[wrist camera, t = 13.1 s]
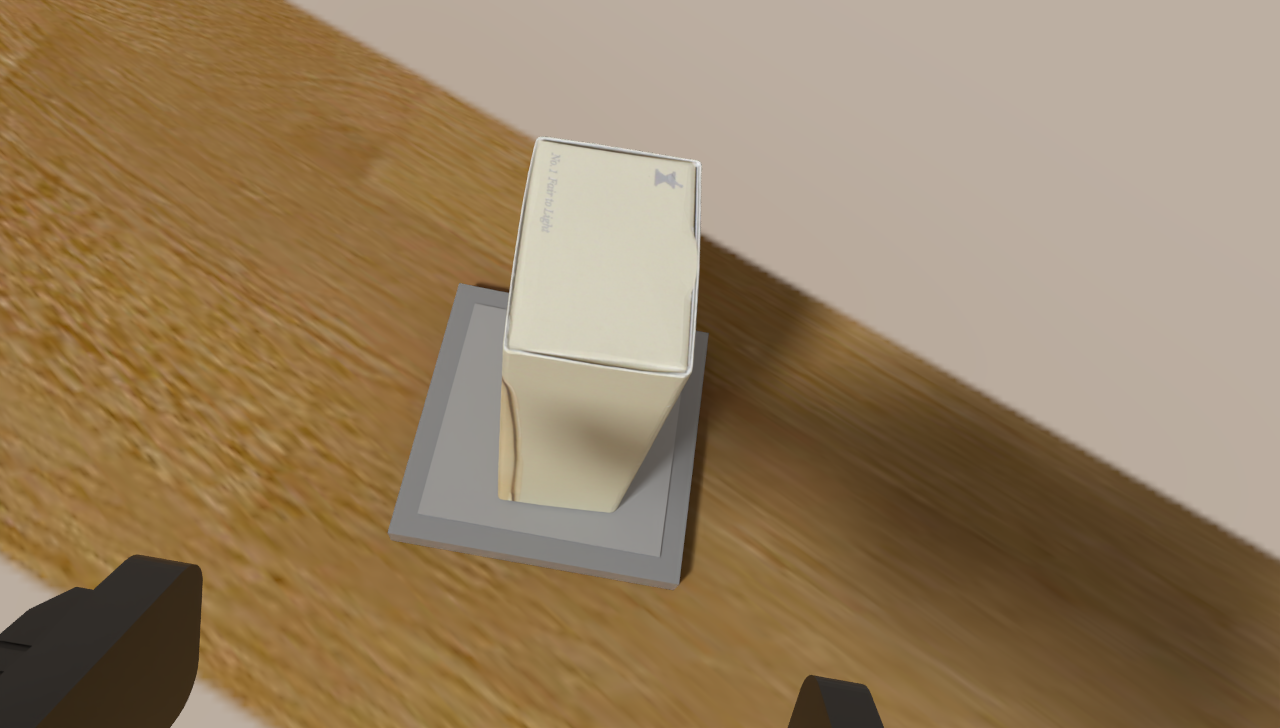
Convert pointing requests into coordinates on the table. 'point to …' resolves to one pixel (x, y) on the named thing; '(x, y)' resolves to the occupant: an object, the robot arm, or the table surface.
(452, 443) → the plate
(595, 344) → the skincare box
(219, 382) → the table surface
